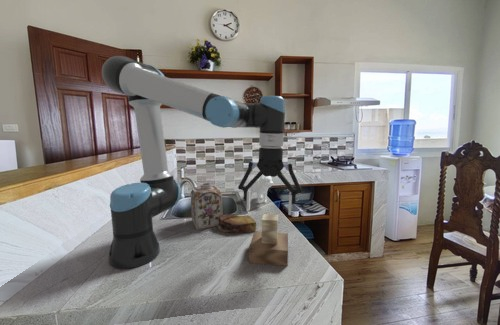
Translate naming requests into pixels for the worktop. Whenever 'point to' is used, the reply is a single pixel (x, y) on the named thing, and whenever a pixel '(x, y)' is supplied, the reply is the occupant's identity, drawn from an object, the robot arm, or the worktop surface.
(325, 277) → the worktop surface
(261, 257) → the plinth
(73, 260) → the worktop surface
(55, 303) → the worktop surface
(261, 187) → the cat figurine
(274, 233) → the oak block
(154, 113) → the robot arm
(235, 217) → the stone
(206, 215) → the decorative jar
